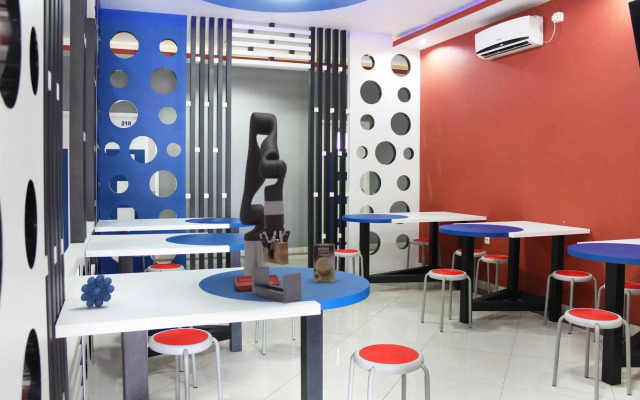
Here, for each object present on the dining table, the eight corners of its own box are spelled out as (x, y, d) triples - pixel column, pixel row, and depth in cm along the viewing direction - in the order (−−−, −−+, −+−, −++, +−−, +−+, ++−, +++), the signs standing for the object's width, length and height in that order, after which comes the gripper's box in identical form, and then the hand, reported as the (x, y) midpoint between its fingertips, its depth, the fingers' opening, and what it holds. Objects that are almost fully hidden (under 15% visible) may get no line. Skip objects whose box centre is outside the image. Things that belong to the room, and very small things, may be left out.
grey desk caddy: (252, 293, 210) (251, 268, 210) (267, 290, 215) (266, 266, 214) (286, 303, 194) (285, 275, 194) (301, 299, 199) (300, 272, 198)
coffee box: (313, 282, 229) (312, 245, 228) (314, 279, 235) (314, 243, 234) (334, 282, 228) (333, 245, 227) (335, 279, 234) (335, 243, 234)
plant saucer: (281, 290, 217) (281, 282, 217) (236, 293, 214) (235, 285, 214) (277, 281, 235) (276, 274, 234) (235, 284, 232) (235, 276, 231)
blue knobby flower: (117, 303, 199) (116, 271, 199) (113, 307, 193) (112, 274, 192) (84, 305, 197) (82, 273, 197) (79, 309, 191) (77, 276, 190)
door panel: (263, 261, 207) (262, 240, 207) (269, 260, 209) (268, 240, 209) (282, 264, 198) (281, 243, 198) (288, 263, 200) (287, 242, 200)
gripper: (282, 211, 210) (283, 255, 211) (252, 213, 201) (254, 259, 202) (294, 212, 205) (295, 257, 206) (264, 214, 196) (266, 261, 196)
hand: (275, 258), depth 204 cm, fingers closed on door panel, 3 cm apart
